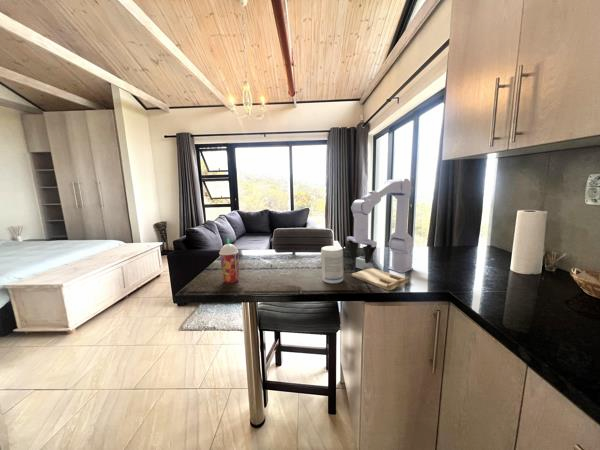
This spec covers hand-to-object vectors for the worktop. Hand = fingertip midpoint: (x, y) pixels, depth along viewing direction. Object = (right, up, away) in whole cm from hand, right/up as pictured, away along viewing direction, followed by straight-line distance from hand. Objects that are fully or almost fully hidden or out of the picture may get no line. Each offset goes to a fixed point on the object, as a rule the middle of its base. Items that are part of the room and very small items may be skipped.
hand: (360, 260), depth 102 cm
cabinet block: (+6, -7, +21) cm, 23 cm away
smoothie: (-57, -11, +8) cm, 58 cm away
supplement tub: (-11, -10, +6) cm, 16 cm away
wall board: (+10, -9, +5) cm, 14 cm away
